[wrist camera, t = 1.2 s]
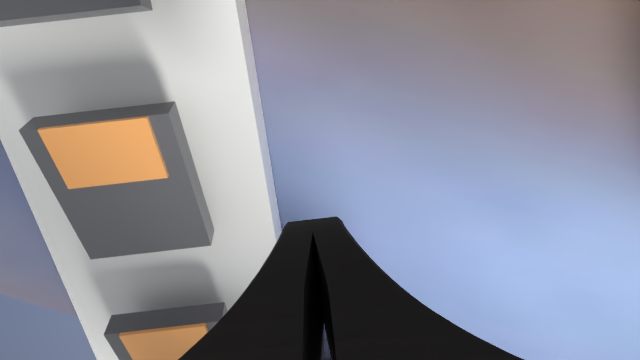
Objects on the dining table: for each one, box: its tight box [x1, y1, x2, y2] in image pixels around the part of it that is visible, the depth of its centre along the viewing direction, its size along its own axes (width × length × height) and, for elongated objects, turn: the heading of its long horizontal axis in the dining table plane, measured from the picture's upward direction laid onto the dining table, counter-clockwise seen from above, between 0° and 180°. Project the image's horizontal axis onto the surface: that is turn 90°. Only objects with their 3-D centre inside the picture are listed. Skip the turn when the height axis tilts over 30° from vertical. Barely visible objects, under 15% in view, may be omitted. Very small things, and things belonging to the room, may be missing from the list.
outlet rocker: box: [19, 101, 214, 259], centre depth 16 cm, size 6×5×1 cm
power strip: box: [0, 0, 282, 360], centre depth 19 cm, size 31×10×3 cm, turn 6°
